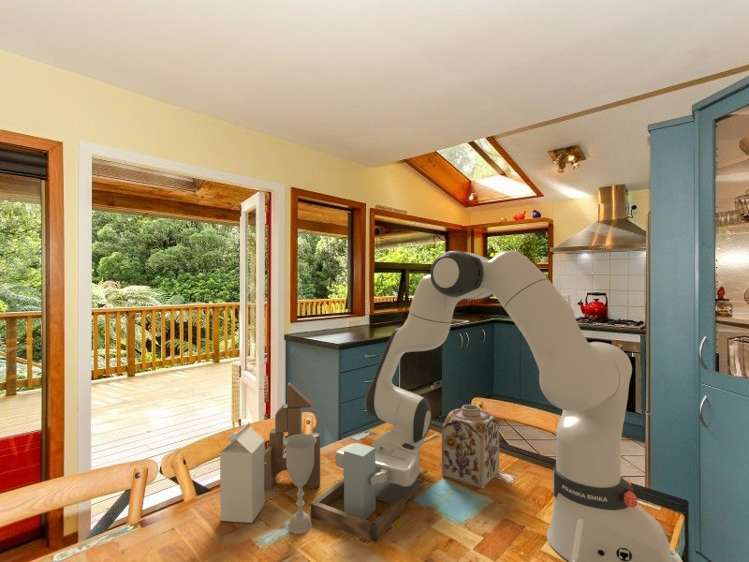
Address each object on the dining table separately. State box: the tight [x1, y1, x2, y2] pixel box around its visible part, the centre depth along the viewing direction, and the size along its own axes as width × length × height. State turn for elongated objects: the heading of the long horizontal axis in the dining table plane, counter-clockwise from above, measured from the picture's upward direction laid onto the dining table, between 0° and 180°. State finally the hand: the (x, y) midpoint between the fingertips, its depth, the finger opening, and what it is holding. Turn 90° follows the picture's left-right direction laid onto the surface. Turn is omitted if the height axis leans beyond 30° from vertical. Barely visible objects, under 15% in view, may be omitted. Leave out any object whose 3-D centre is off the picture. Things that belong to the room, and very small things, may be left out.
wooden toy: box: [264, 382, 321, 491], centre depth 101 cm, size 16×7×25 cm, turn 94°
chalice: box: [284, 433, 317, 535], centre depth 84 cm, size 7×7×18 cm
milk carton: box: [219, 422, 265, 524], centre depth 88 cm, size 7×7×19 cm
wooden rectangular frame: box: [310, 478, 406, 544], centre depth 88 cm, size 16×13×3 cm
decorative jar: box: [441, 404, 500, 490], centre depth 106 cm, size 12×12×18 cm
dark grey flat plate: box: [375, 480, 422, 505], centre depth 99 cm, size 14×11×1 cm
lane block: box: [343, 442, 376, 520], centre depth 89 cm, size 5×5×14 cm
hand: (357, 477), depth 88 cm, fingers closed on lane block, 5 cm apart
